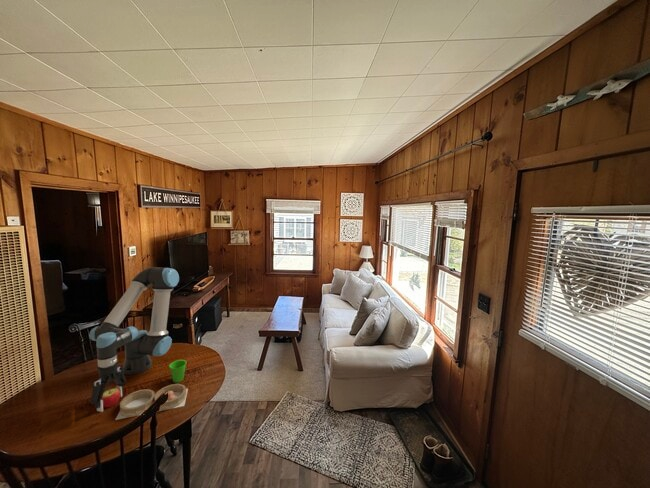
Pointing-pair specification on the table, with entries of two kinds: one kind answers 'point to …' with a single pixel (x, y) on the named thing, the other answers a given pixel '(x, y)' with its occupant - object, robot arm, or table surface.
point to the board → (144, 400)
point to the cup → (178, 370)
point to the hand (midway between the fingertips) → (110, 404)
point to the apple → (110, 397)
